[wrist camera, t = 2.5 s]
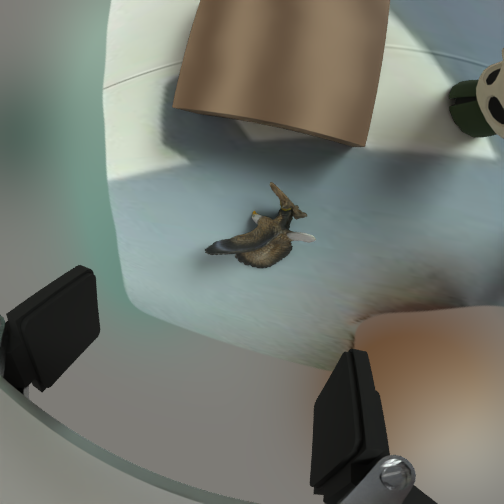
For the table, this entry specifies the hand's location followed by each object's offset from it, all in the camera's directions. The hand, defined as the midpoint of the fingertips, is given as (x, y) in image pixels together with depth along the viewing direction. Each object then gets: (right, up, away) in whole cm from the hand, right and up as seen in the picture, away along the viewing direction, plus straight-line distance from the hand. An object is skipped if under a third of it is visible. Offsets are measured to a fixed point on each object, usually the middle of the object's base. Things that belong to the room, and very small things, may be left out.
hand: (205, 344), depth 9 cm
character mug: (+25, +18, +11) cm, 33 cm away
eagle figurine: (+3, +6, +21) cm, 22 cm away
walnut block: (+5, +23, +14) cm, 27 cm away
